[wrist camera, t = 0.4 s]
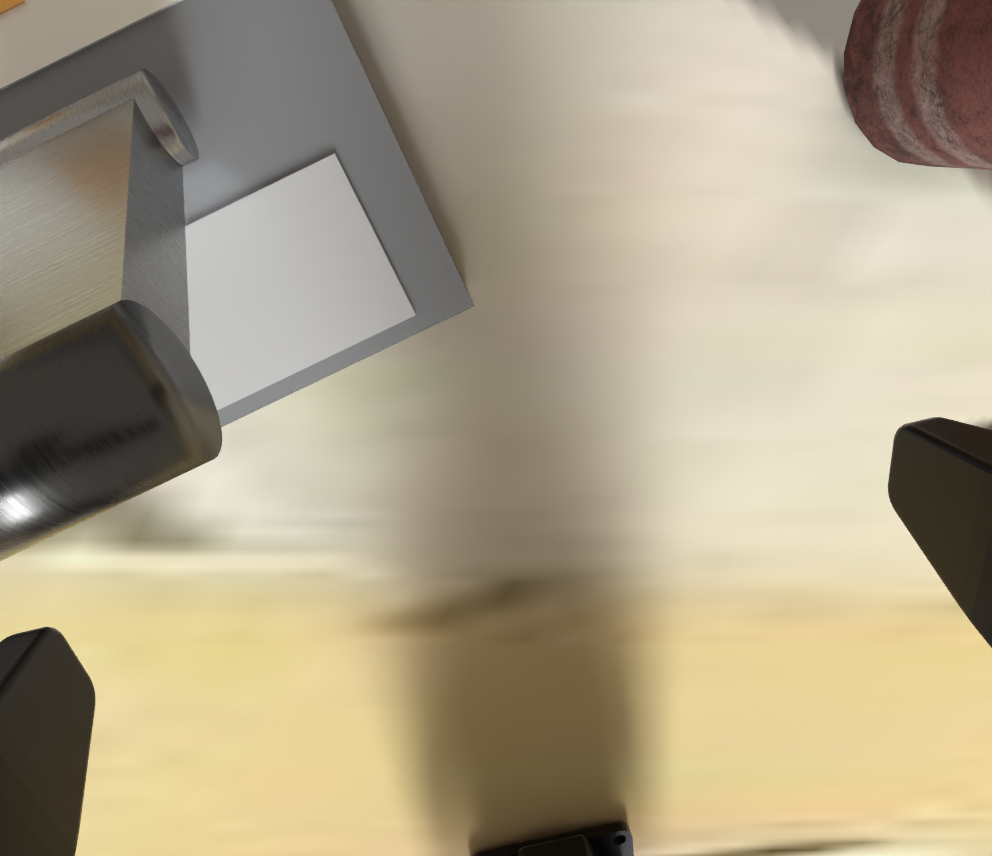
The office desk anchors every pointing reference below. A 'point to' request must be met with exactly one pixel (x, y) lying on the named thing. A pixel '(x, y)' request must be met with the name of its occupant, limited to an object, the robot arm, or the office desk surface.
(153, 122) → the toggle lever
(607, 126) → the office desk surface
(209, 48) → the switch base
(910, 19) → the can
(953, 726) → the office desk surface
